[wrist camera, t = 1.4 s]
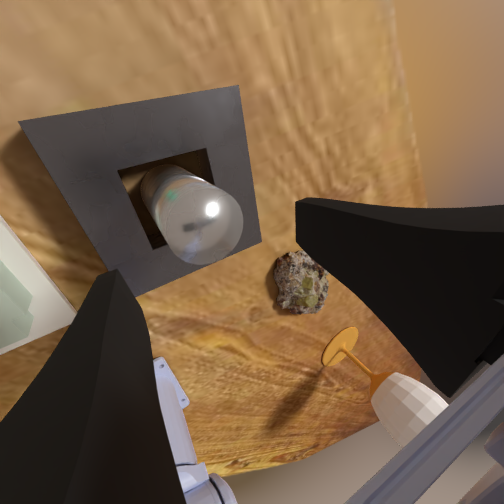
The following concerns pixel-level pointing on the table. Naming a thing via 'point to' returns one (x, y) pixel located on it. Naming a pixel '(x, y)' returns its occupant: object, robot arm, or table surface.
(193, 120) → the socket block
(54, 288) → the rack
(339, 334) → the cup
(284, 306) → the mineral rock
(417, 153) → the table surface
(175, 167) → the smooth metal cylinder
